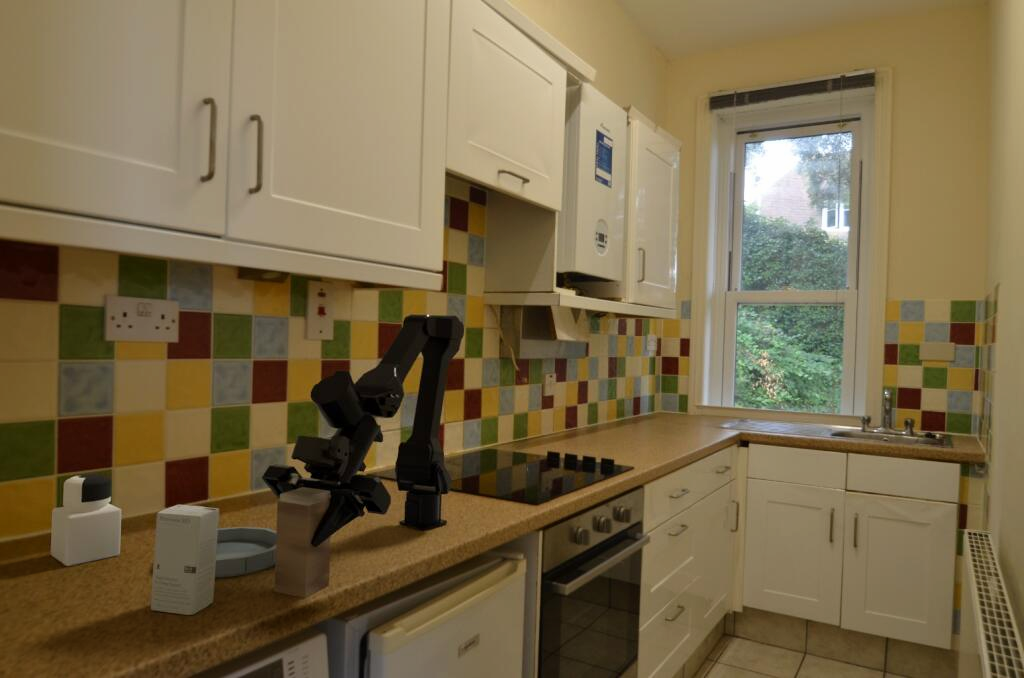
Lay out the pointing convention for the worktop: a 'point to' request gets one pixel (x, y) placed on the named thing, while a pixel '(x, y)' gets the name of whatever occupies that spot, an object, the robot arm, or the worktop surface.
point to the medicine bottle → (86, 521)
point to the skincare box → (184, 559)
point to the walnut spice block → (301, 543)
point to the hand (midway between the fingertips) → (296, 542)
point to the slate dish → (244, 550)
